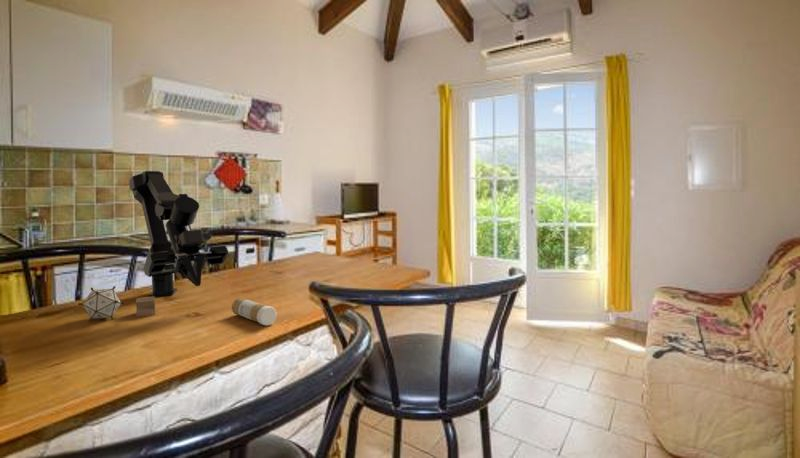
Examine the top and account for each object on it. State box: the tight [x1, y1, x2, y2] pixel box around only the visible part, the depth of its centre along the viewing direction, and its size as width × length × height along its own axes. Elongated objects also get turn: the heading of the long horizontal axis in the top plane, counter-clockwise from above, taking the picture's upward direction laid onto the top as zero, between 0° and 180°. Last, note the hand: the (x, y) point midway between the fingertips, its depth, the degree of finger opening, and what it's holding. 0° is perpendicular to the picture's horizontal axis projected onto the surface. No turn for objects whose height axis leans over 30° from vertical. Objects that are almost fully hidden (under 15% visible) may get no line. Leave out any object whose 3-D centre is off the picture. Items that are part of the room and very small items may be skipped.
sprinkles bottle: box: [231, 297, 277, 326], centre depth 104 cm, size 5×5×14 cm
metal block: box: [135, 296, 156, 318], centre depth 107 cm, size 4×4×4 cm
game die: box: [77, 285, 125, 323], centre depth 103 cm, size 9×8×10 cm
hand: (198, 285), depth 105 cm, fingers closed
